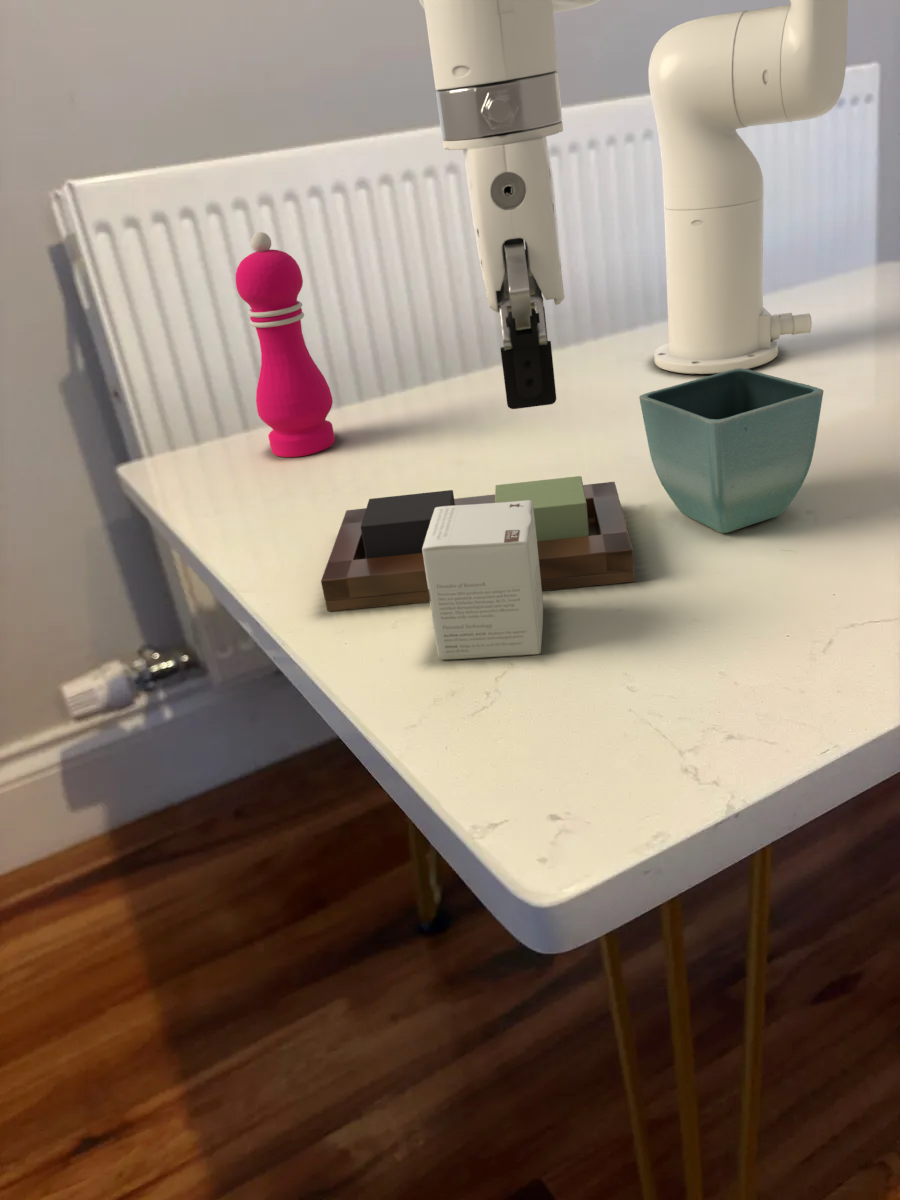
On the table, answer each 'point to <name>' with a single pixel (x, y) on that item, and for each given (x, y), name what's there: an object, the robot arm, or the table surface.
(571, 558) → the wooden tray
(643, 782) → the table surface
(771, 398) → the flower pot
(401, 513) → the black block
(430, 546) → the product carton
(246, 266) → the pepper mill
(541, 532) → the green rectangular block
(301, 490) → the table surface
